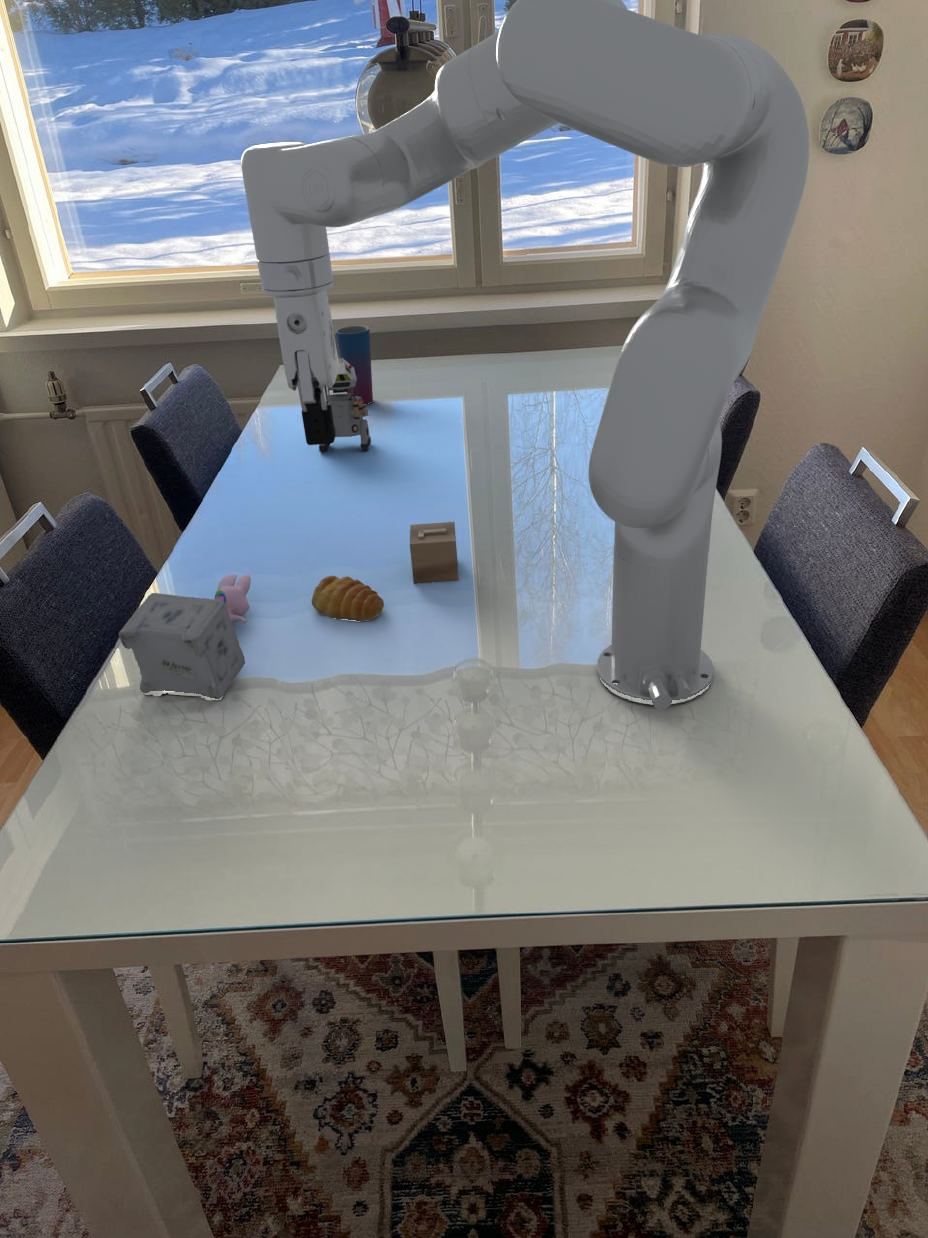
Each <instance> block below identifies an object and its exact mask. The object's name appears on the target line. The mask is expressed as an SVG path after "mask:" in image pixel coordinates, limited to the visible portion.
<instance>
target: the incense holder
mask: <svg viewBox="0 0 928 1238" xmlns="http://www.w3.org/2000/svg"><path fill="white" fill-rule="evenodd" d="M118 637H119V640H120V642H121V645H122V646H123V647H124V648H125V649H127V650H130V649H131V650H132V653H133V655H134V659H135V661H136V663H137V667H138V668H139V674H140V675H141V679H140V682H139V690H140V692H141V693H142V692H143V693H148V692H150V691H164V690H165V691H175V692H184V693H194V694H195V693H196V694H201V695H203V696H207V697H210V698H215V699H220V698H221V697H222V696H223V695H224V694H225V695H226V692H227V691H228V689H229V688H230V686H231V685H232V683H233V682H234V680H235V679H236V677H237V676H238V674H239V673H240V672H241V670H242V669H243V667H244V665H245V664H246V660H245V656H244V652H243V650H242V648H241V646H240V641H239V639H238V636H237V633H236V631H235V629H234V626H233V622H232V621H231V618H230V616H229V613H228V609H227V606H226V604H225V603H224V602H223V601H221V600H214V598H204V597H203V598H201V597H192V596H191V597H190V596H180V595H176V594H175V595H174V594H169V593H168V594H167V593H159V592H158V593H157V592H152V593H150V594H149V595H148V596H147V597H146V599H145V600H144V601H143V602H142V603H141V604H140V605H139V607H138V608H137V609H136V610H135V611H134V613H133V614H132V616H131V617H130V618H129V619H128V620H127V622H126V623H125V624H124V625H123V627H122V629H121V630H119V632H118ZM225 695H224V696H225ZM224 696H223V697H224ZM223 697H222V698H223Z"/></svg>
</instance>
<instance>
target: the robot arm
mask: <svg viewBox="0 0 928 1238" xmlns="http://www.w3.org/2000/svg"><path fill="white" fill-rule="evenodd" d="M437 71H438V72H437V73H436V77H435V83H434V91H433V92H432V93H431V95H429V96H428V97H427V98H426V99H425V100H424V101H423V102H422V101H421V103H419V104H418V105H416V106H415V107H413V108H412V109H410V110H408V111H407V112H405V113H403V114H402V115H400V116H399V117H397V118H395V119H394V120H392V121H390V122H388V123H387V124H385V125H382V126H381V127H380V128H377V129H375V130H373V131H371V132H366V133H360V134H354V135H349V136H342V137H341V136H340V137H339V138H333V139H328V140H323V141H319V142H313V143H310V144H307V143H305V142H300V141H288V142H287V141H283V142H271V143H264V144H263V143H262V144H256V145H252V146H250V147H249V148H247V149H245V150H244V151H243V153H242V156H241V159H240V165H241V173H242V180H243V185H244V186H243V187H244V193H245V197H246V203H247V209H248V214H249V221H250V226H251V233H252V239H253V245H254V251H255V255H256V256H255V257H256V262H257V266H258V267H257V269H258V272H259V273H258V274H259V280H260V286H261V291H262V292H261V293H262V294H263V295H265V296H267V297H273V301H274V308H275V319H276V324H277V329H278V332H277V333H278V339H279V345H280V350H281V357H282V363H283V367H284V374H285V379H286V382H287V387H288V388H289V389H290V390H292V391H296V390H298V396H299V401H300V406H301V417H302V423H303V428H304V429H303V430H304V436H305V441H306V442H305V443H306V444H307V445H308V446H314V445H315V446H316V445H318V446H319V444H330V445H331V444H334V443H335V440H336V437H335V429H334V422H333V415H332V408H331V405H327V404H329V394H328V388H331V387H332V386H333V385H334V383H335V381H336V377H337V374H338V369H339V360H338V358H339V356H338V355H339V354H338V350H337V344H336V338H335V337H336V336H335V333H334V326H333V319H332V314H331V308H330V304H329V303H330V302H329V297H328V294H327V291H328V290H331V289H332V288H334V285H335V284H334V276H333V268H332V262H331V255H330V247H329V240H328V238H329V237H328V232H327V228H342V227H346V226H350V225H354V224H357V223H360V222H363V221H365V220H368V219H371V218H374V217H377V216H381V215H384V214H389V213H391V212H393V211H396V210H398V209H400V208H402V207H404V206H406V205H408V204H410V203H412V202H414V201H416V200H418V199H420V198H421V197H423V196H425V195H427V194H429V193H431V192H432V191H434V190H437V189H439V188H441V187H443V186H444V185H446V184H447V183H450V182H452V181H453V180H455V179H457V178H458V177H461V176H462V175H463V174H465V173H467V172H469V171H471V170H473V169H478V168H479V167H481V166H483V165H484V164H485V163H487V162H489V161H491V160H493V159H494V158H497V157H499V156H500V155H501V154H503V153H505V152H507V151H509V150H511V149H513V148H514V147H517V146H518V145H519V144H521V143H524V142H525V141H527V140H529V139H531V138H533V137H534V136H537V135H539V134H541V133H543V132H544V131H546V130H548V129H551V128H553V126H556V125H559V124H560V125H563V126H565V127H568V128H570V129H573V130H574V131H576V132H577V131H578V132H579V133H582V134H584V135H587V136H589V137H592V138H595V139H597V140H599V141H602V142H605V143H607V144H609V145H612V146H614V147H616V148H619V149H622V150H624V151H626V152H629V153H631V154H632V155H635V156H636V155H637V156H638V157H641V158H642V159H647V160H648V161H652V162H655V163H658V164H661V165H663V166H664V165H665V166H669V167H674V168H691V167H696V166H701V165H702V168H701V169H702V170H701V171H702V172H701V173H702V174H701V180H700V183H699V187H698V190H697V193H696V196H695V198H694V201H693V203H692V206H691V209H690V211H689V214H688V217H687V218H686V219H687V220H686V222H685V226H684V230H683V232H682V233H683V235H682V238H681V241H680V244H679V245H680V246H679V248H678V251H677V255H676V257H675V261H674V264H673V267H672V271H671V273H670V276H669V279H668V281H667V284H666V287H665V289H664V290H663V292H662V294H661V296H660V297H659V298H658V299H657V300H656V301H655V303H654V304H652V306H650V307H649V308H648V309H646V310H645V311H644V312H643V314H642V315H641V316H640V317H639V318H638V319H637V320H636V322H635V323H634V325H632V328H631V329H630V331H629V332H628V335H627V337H626V339H625V341H624V343H623V345H622V348H621V350H620V353H619V356H618V358H617V360H616V361H617V362H616V365H615V369H614V372H613V375H612V378H611V381H610V386H609V388H608V393H607V395H606V396H607V397H606V400H605V404H604V407H603V410H602V414H601V417H600V419H599V420H600V421H599V424H598V427H597V431H596V434H595V439H594V441H593V446H592V448H591V453H590V457H589V462H588V483H589V487H590V491H591V495H592V496H593V499H594V501H595V503H596V504H597V506H598V507H599V509H600V510H601V511H602V512H603V513H604V515H606V516H607V517H608V518H609V519H610V520H612V521H613V522H614V535H613V538H614V539H613V542H614V543H613V562H612V563H613V568H612V569H613V570H612V573H613V574H612V607H611V609H612V611H611V612H612V613H611V614H612V615H611V644H609V646H608V647H606V648H604V649H603V650H602V652H601V653H600V654H599V655H598V658H597V661H596V662H597V663H596V674H597V673H598V675H597V677H598V676H599V678H601V680H602V681H603V682H604V683H606V685H608V686H609V687H611V688H612V689H614V690H616V691H617V692H619V693H622V694H624V695H628V696H631V697H634V698H641V699H643V700H645V699H646V700H652V703H653V705H654V706H653V707H654V709H656V710H660V711H663V710H667V709H668V708H669V707H670V706H672V705H671V703H672V700H680V699H687V698H688V697H691V696H693V695H696V694H697V693H699V692H700V691H702V690H703V689H705V688H706V687H707V686H708V685H709V684H710V683H711V681H712V682H713V680H714V664H713V661H712V660H711V658H710V657H709V655H708V654H707V653H706V652H705V651H703V650H702V649H701V647H702V638H703V626H704V624H703V623H704V613H705V612H704V611H705V600H706V599H705V598H706V587H707V576H708V564H709V563H708V561H709V552H710V545H711V544H710V543H711V542H710V541H711V531H712V521H713V512H714V511H713V510H714V503H715V496H716V490H717V485H718V484H717V483H718V476H719V470H720V465H721V460H722V459H721V457H722V448H723V447H722V445H723V437H722V428H721V424H720V416H721V414H722V412H723V409H724V406H725V403H726V401H727V398H728V395H729V394H730V390H731V388H732V387H733V385H734V383H735V381H736V380H737V379H738V377H739V376H740V374H741V373H742V372H743V370H744V368H745V367H746V365H747V363H748V361H749V360H750V359H749V358H750V357H751V354H752V351H753V348H754V346H755V345H754V344H755V340H756V337H757V336H756V335H757V333H758V331H759V326H760V323H761V320H762V317H763V314H764V311H765V308H766V306H767V302H768V299H769V297H770V293H771V291H772V288H773V286H774V283H775V280H776V277H777V276H778V275H777V274H778V271H779V269H780V265H781V262H782V260H783V256H784V252H785V250H786V247H787V244H788V242H789V238H790V235H791V232H792V230H793V226H794V223H795V221H796V217H797V215H798V212H799V209H800V205H801V201H802V198H803V195H804V190H805V186H806V181H807V177H808V171H809V163H810V162H809V161H810V131H809V125H808V120H807V119H808V118H807V115H806V111H805V107H804V104H803V101H802V98H801V96H800V94H799V91H798V89H797V87H796V86H795V83H794V82H793V81H792V79H791V77H790V76H789V75H788V73H787V71H785V69H784V67H782V66H781V64H780V63H779V62H778V61H777V60H776V59H775V58H774V57H773V56H772V55H771V54H770V53H769V52H768V51H767V50H766V49H764V48H763V47H762V46H760V45H758V44H757V43H756V42H753V41H752V40H749V39H748V38H745V37H742V36H737V35H734V34H728V33H726V34H725V33H716V34H715V33H713V34H703V35H701V34H698V33H695V32H692V31H689V30H686V29H683V28H680V27H679V26H678V27H677V26H675V25H671V24H670V23H667V22H666V23H665V22H663V21H659V20H657V19H655V18H651V17H649V16H646V15H644V14H641V13H638V12H636V11H632V10H630V9H628V8H627V6H626V5H625V3H624V2H623V0H516V1H515V2H514V3H513V4H512V6H511V7H510V9H509V10H508V11H507V13H506V15H505V16H504V18H503V20H502V23H501V25H500V27H499V30H497V31H496V32H494V33H493V34H491V35H489V36H488V37H486V38H484V39H483V40H482V41H480V42H478V43H476V44H475V45H473V46H471V47H469V48H468V49H467V50H465V51H463V52H461V53H460V54H458V55H457V56H454V57H452V58H451V59H449V60H448V61H447V62H445V63H444V64H443V65H441V67H440V68H439V69H438V70H437ZM599 678H598V679H599ZM712 679H713V680H712ZM613 683H618V684H617V685H616V684H613Z"/></svg>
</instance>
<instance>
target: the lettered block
mask: <svg viewBox="0 0 928 1238" xmlns="http://www.w3.org/2000/svg"><path fill="white" fill-rule="evenodd" d="M456 536H457V535H456V523H455V521H446V522H444V521H443V522H431V523H418V524H415V523H414V524H410V528H409V551H410V559H411V562H410V563H411V570H412V571H411V572H412V581H413V584H414V585H416V584H417V585H418V583H420V584H431V583H432V582H434V583H447V582H458V581H459V567H458V566H459V564H458V550H457V549H458V548H457V540H456V539H457V537H456ZM432 584H433V583H432Z"/></svg>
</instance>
